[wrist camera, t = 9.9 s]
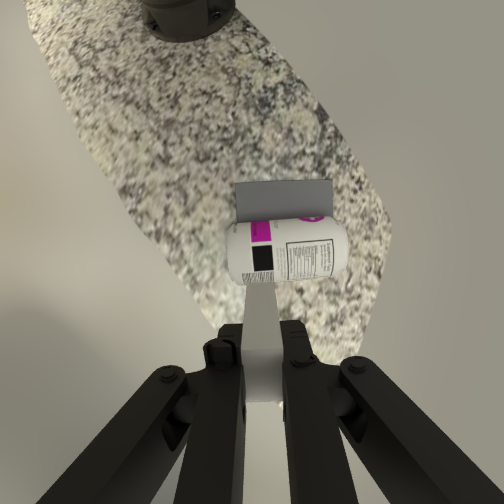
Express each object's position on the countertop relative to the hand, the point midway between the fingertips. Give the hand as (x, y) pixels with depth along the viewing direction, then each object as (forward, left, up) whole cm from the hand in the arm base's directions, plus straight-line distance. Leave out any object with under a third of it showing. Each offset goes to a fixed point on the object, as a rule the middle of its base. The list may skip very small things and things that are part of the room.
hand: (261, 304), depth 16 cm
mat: (0, +4, -26) cm, 27 cm away
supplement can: (+3, -4, -22) cm, 22 cm away
